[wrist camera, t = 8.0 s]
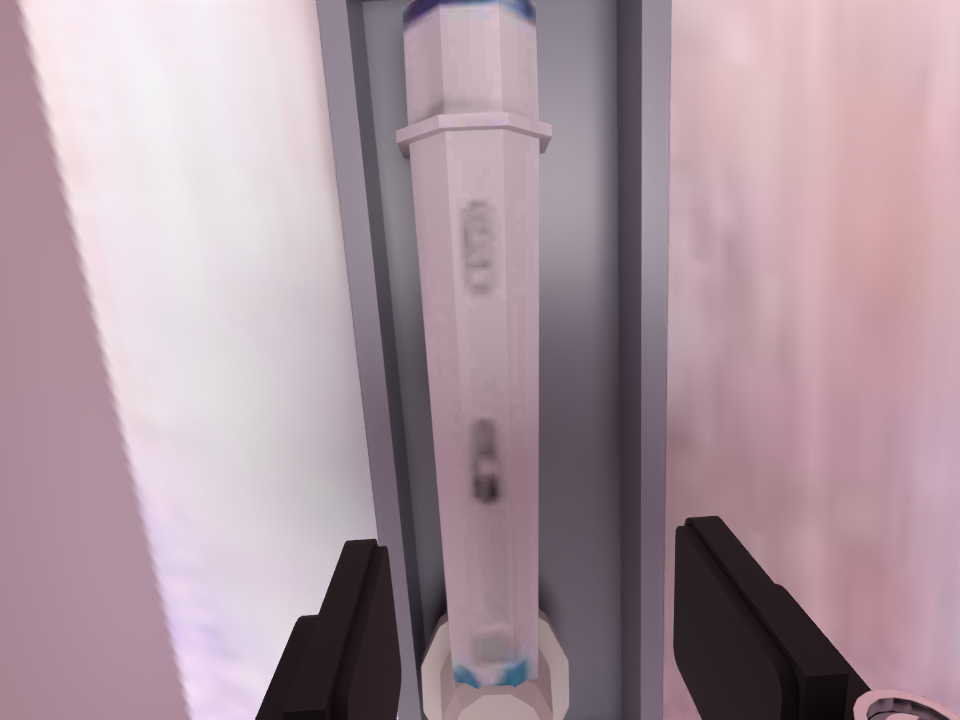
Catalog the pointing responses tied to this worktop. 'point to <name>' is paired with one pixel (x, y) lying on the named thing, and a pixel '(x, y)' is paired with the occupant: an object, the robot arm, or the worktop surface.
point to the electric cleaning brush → (482, 350)
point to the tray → (562, 334)
